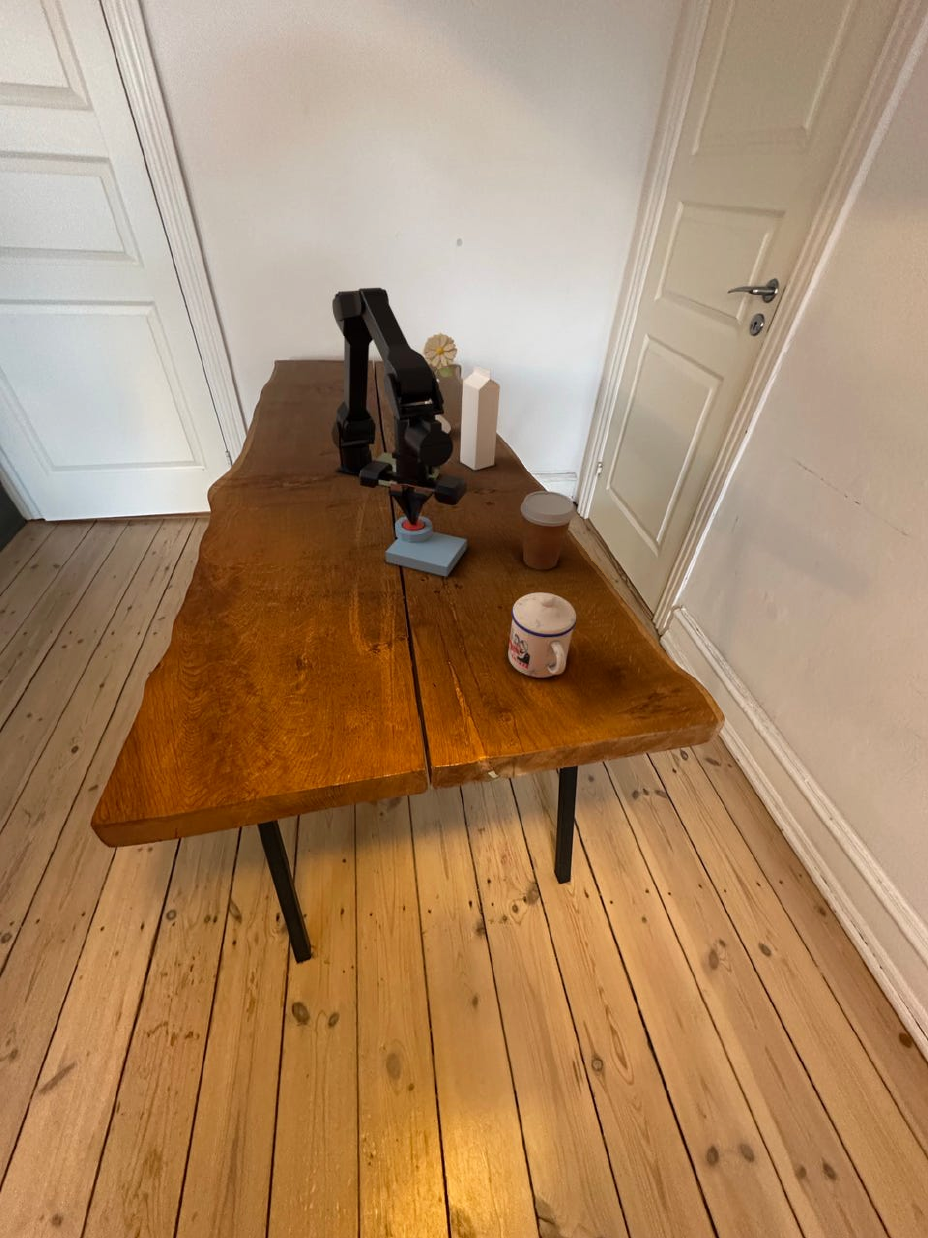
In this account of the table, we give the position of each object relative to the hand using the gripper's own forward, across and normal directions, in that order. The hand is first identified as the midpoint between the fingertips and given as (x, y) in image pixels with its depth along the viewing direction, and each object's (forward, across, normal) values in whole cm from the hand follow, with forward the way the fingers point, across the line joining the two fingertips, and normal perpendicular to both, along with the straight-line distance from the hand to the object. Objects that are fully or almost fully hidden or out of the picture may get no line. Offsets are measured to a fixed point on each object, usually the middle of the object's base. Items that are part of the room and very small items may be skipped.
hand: (413, 523), depth 103 cm
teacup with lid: (+4, -31, +23) cm, 39 cm away
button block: (+4, -3, +2) cm, 6 cm away
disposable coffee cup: (+4, -24, -4) cm, 25 cm away
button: (+2, 0, 0) cm, 2 cm away
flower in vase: (+4, +18, -51) cm, 54 cm away
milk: (+4, +1, -39) cm, 39 cm away
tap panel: (+4, +14, -24) cm, 28 cm away
